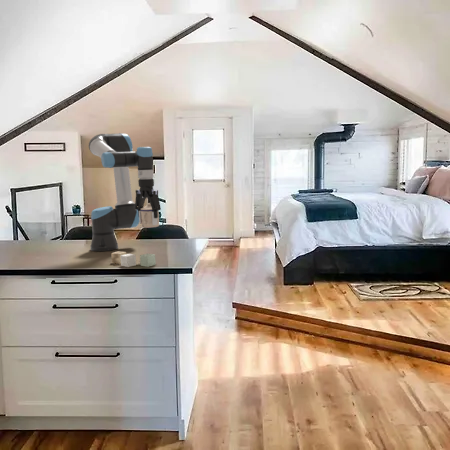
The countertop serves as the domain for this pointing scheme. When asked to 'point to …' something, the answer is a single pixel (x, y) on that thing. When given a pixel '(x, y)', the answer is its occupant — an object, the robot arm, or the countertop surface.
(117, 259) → the maple cube
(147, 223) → the teacup with lid
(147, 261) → the sage painted cube
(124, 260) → the white painted cube
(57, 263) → the countertop surface
